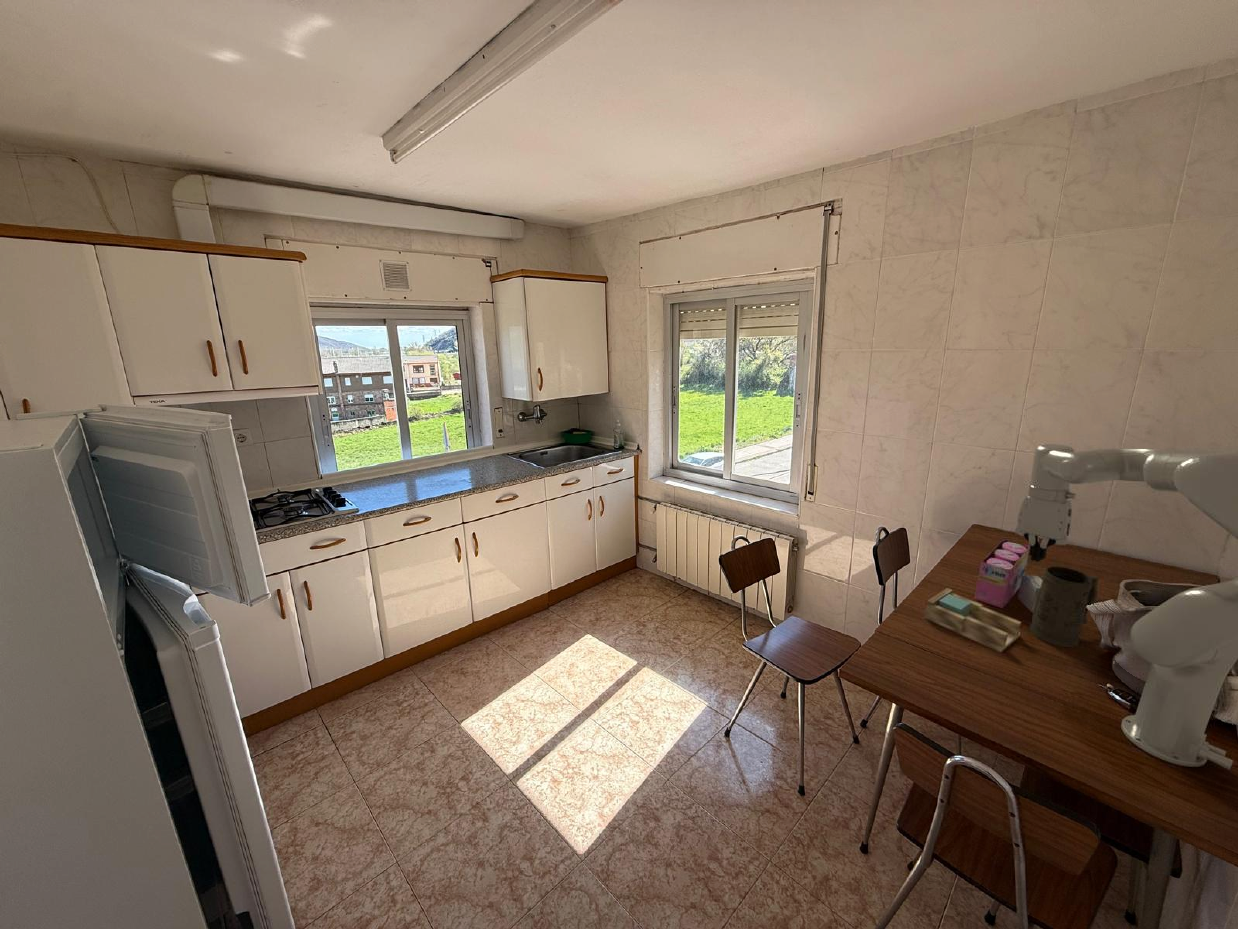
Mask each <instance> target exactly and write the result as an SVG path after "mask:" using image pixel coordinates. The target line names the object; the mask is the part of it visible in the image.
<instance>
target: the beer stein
mask: <svg viewBox="0 0 1238 929" xmlns="http://www.w3.org/2000/svg"><path fill="white" fill-rule="evenodd" d="M1042 576H1043V577H1042V584H1041V587H1040V589H1039V591H1038V595H1037V599H1036V603H1035V608H1034V612H1032V617H1031V618H1032V619H1031V620H1032V622H1031V623H1030V625H1029V631H1030V632H1031V633H1032V635H1034V636H1035V638H1038V639H1039V640H1042V641H1044V642H1046V643H1049V644H1051V645H1054V646H1059V647H1064V648H1065V647H1067V648H1070V647H1076V646H1078V645H1079V644H1080V635H1081V633H1082V629H1083V628H1082V627H1083V625H1084V624H1085V625H1086V624H1088V618H1087V614H1088V613H1089V611H1088V609H1087V608H1086V606H1087V605H1091V604H1093V605H1094V604H1095V602H1096V600H1097V598H1098V582H1099V577H1098V576H1094V575H1087V574H1086V573H1084V572H1082V571H1079V570H1077V569H1073V568H1069V567H1064V566H1049V567H1047V568H1045V570H1044V572H1043V574H1042Z"/></svg>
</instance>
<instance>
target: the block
mask: <svg viewBox="0 0 1238 929" xmlns="http://www.w3.org/2000/svg"><path fill="white" fill-rule="evenodd" d="M970 604H971V603H970V602H968V601H965V600H963V599H960V598H958V597H955V596H953V595H950V594H948V595H947V596H945V597H944V598H942V599H941V600H939V604H938V606H940V607H943V608H945V609H947V610H950V611H952V612H954V613H957V614H959V615H962V616H964V617H967V616H968V615H969V610H970Z"/></svg>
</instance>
